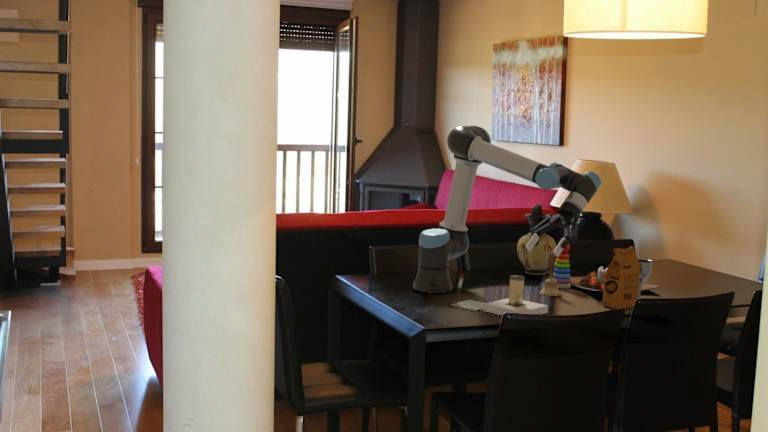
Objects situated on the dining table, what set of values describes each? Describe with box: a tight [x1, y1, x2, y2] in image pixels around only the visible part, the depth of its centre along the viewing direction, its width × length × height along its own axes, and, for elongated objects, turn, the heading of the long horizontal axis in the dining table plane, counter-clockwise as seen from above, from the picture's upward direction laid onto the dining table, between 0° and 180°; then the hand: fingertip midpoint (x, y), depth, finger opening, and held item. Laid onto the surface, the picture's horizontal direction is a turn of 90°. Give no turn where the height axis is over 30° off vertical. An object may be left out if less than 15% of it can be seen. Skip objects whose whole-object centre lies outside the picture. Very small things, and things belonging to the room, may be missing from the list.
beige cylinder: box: [508, 274, 525, 307], centre depth 306 cm, size 5×5×13 cm
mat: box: [457, 299, 485, 310], centre depth 315 cm, size 12×12×1 cm
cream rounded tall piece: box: [516, 204, 557, 276], centre depth 384 cm, size 18×17×30 cm
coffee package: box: [601, 245, 640, 310], centre depth 321 cm, size 10×12×22 cm
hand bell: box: [539, 253, 562, 297], centre depth 340 cm, size 8×8×16 cm
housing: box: [482, 297, 549, 316], centre depth 307 cm, size 16×16×3 cm
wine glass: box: [637, 258, 653, 298], centre depth 336 cm, size 8×8×15 cm
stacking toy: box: [553, 243, 572, 290], centre depth 354 cm, size 8×8×19 cm
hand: (541, 251), depth 310 cm, fingers open, 13 cm apart
